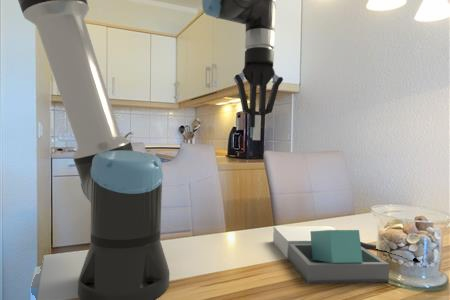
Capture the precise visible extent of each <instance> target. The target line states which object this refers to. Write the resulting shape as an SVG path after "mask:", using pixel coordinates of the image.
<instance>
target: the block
mask: <svg viewBox="0 0 450 300" xmlns="http://www.w3.org/2000/svg"><path fill="white" fill-rule="evenodd" d="M310 232H311V246H312V259H313V260H318V261H324V262H330V263H359V262H363V261H362V252H361V243H360V242H361V236H360V230H359V229H337V230H324V231H310Z"/></svg>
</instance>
